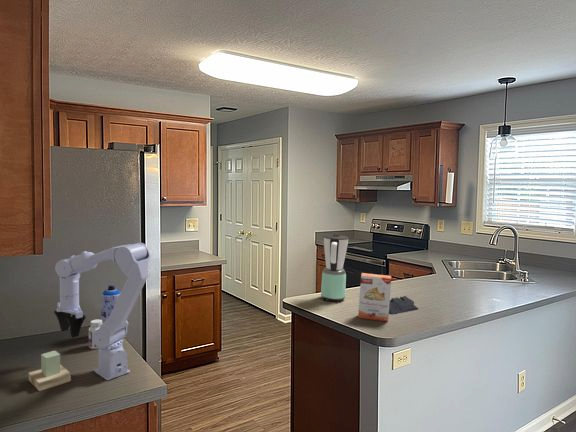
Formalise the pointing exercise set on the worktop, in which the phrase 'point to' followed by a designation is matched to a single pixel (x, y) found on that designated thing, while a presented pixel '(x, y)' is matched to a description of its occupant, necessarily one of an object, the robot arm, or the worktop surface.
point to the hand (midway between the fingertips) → (69, 333)
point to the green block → (50, 363)
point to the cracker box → (374, 297)
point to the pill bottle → (94, 327)
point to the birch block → (49, 378)
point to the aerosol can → (108, 302)
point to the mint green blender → (334, 268)
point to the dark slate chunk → (401, 305)
